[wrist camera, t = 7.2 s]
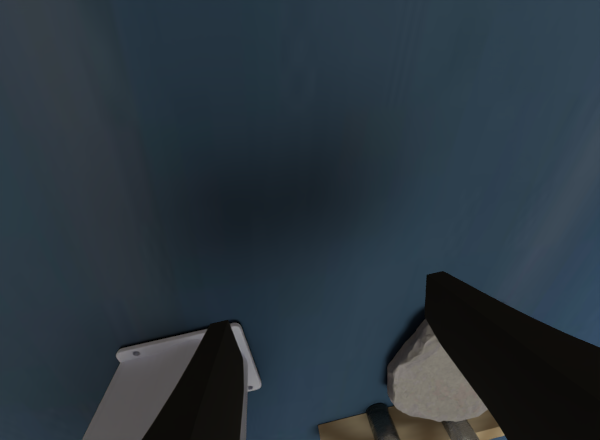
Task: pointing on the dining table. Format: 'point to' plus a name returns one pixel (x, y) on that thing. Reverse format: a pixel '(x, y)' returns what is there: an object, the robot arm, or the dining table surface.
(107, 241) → the dining table surface
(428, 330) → the stone block
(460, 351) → the robot arm
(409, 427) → the bench stop
